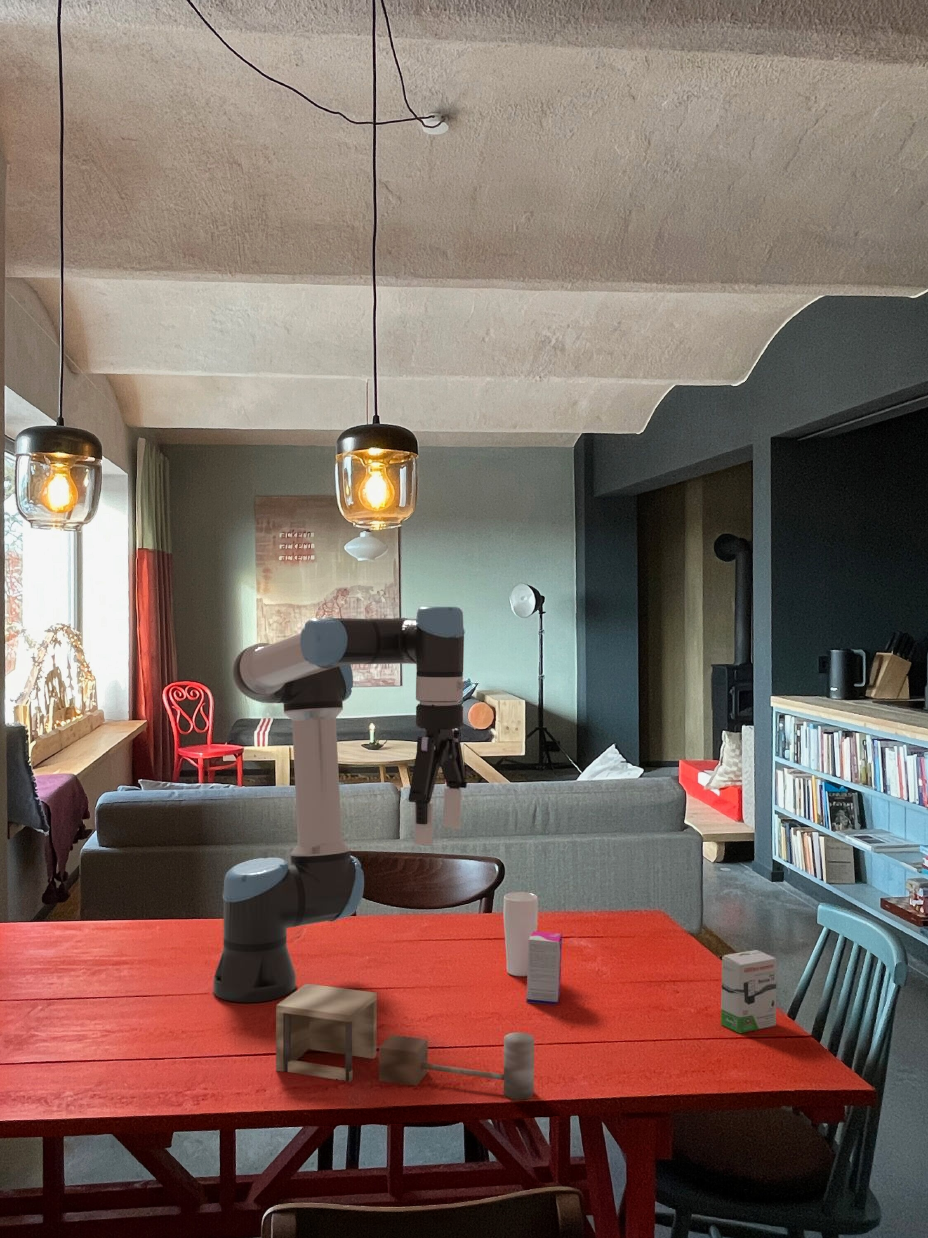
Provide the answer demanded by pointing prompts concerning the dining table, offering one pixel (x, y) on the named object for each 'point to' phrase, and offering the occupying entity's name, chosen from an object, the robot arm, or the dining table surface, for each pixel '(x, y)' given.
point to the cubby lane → (325, 1028)
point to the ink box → (748, 991)
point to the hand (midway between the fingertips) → (438, 836)
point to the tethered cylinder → (410, 1064)
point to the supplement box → (544, 967)
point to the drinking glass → (519, 929)
